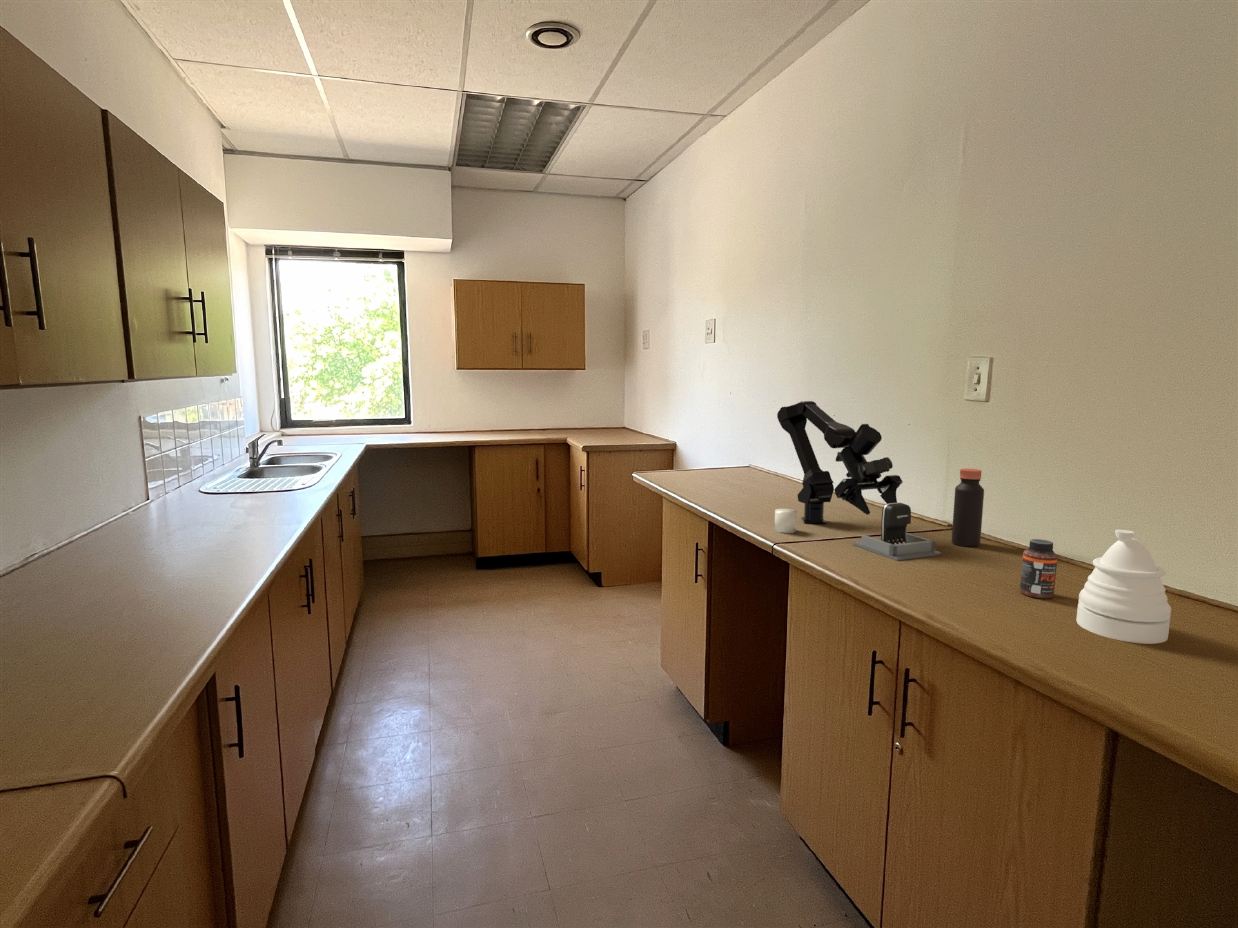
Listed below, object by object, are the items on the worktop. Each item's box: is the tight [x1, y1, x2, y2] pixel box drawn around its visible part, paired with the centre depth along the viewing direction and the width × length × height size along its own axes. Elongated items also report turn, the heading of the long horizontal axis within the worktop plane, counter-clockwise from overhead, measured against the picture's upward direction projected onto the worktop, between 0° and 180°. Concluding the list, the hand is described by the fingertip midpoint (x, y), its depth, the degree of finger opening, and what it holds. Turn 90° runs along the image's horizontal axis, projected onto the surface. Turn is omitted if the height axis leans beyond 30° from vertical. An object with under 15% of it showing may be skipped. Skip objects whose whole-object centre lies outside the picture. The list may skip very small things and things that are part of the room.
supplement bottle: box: [1019, 538, 1058, 600], centre depth 130 cm, size 6×6×11 cm
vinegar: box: [951, 468, 985, 548], centre depth 169 cm, size 7×7×20 cm
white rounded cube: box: [774, 508, 797, 534], centre depth 185 cm, size 6×6×6 cm
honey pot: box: [1076, 529, 1172, 645], centre depth 112 cm, size 13×13×18 cm
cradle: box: [852, 532, 942, 562], centre depth 165 cm, size 16×14×3 cm
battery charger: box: [880, 502, 912, 545], centre depth 164 cm, size 7×4×11 cm, turn 109°
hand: (882, 512), depth 168 cm, fingers open, 9 cm apart
